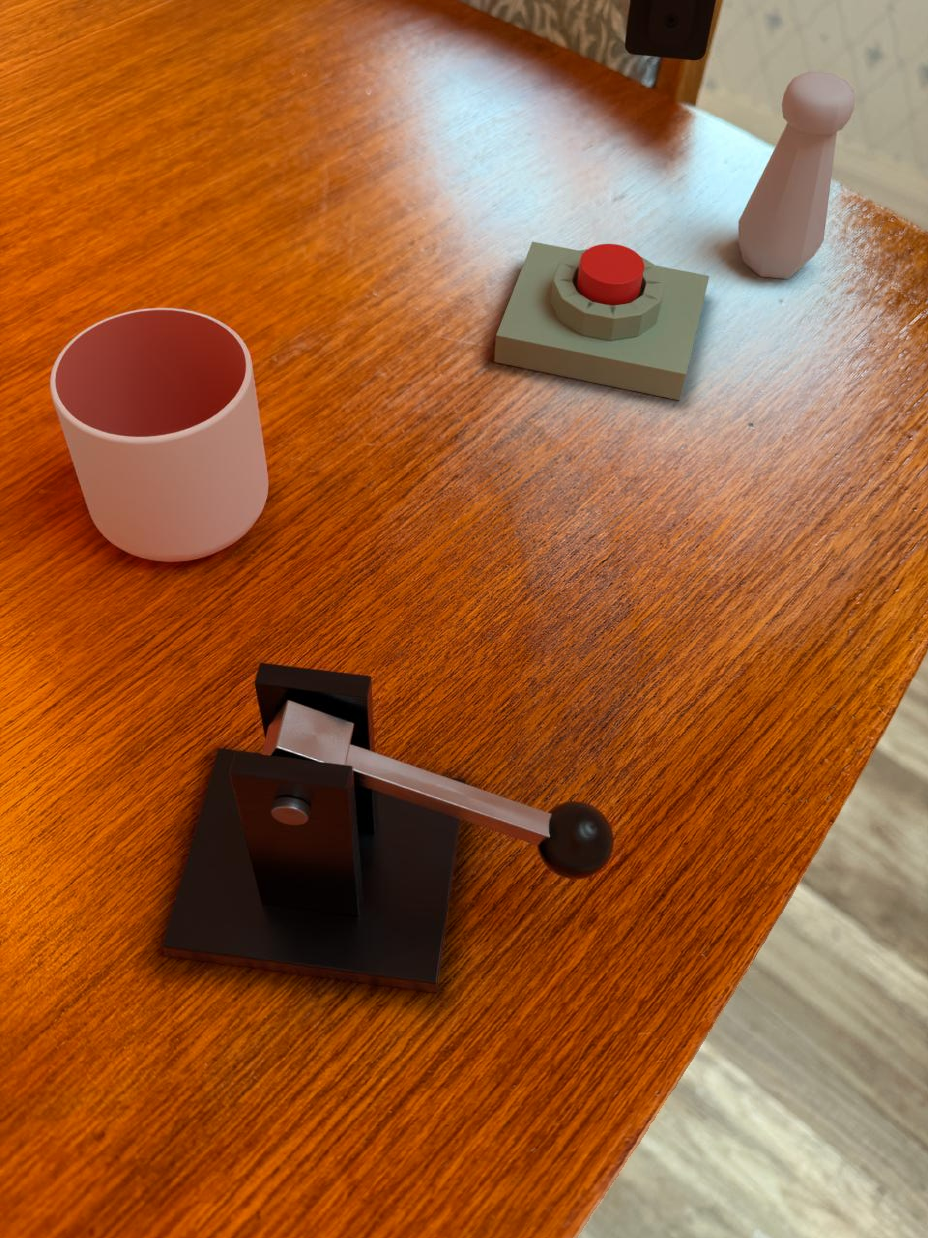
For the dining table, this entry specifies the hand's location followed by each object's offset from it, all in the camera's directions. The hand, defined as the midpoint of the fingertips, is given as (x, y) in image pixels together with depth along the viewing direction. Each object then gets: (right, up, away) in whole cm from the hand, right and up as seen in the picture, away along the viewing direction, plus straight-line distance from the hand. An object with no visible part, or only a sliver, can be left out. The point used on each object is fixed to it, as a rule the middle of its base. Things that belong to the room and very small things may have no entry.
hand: (664, 46), depth 48 cm
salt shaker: (+13, +2, +36) cm, 38 cm away
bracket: (-15, -35, +7) cm, 38 cm away
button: (+1, -2, +27) cm, 28 cm away
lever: (-9, -31, +1) cm, 32 cm away
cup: (-24, -17, +20) cm, 36 cm away
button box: (+1, -4, +30) cm, 31 cm away
